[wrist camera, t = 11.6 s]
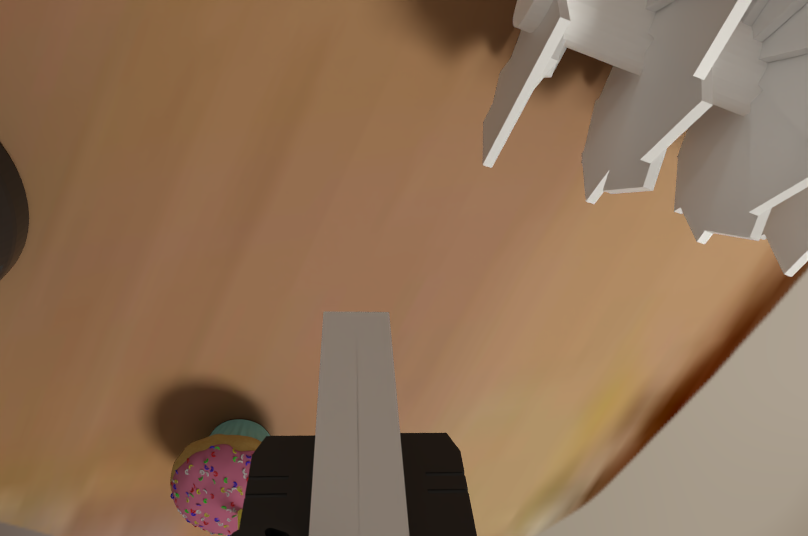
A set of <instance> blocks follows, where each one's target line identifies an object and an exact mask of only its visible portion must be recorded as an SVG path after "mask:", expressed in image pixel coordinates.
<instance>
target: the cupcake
mask: <svg viewBox="0 0 808 536" xmlns="http://www.w3.org/2000/svg"><path fill="white" fill-rule="evenodd" d="M266 436H270V435H269V433H268V432H267V431H266V430H265V429H264V428H263V427H262V426H261V425H259V424H257V423H255V422H252V421H249V420H243V419H235V420H230V421H226V422H224V423H222V424H220V425H219V426H217V427H216V428H215V429H214V430H213V432H212V433H211V434H210V436H209V437H206V438H203V439H200V440H197V441H195V442H192V443H190V444H189V445H188V446H187V447H186V448H185V449H184V451H183V452H182V453H181V454H180V456H179V457H178V458H177V459H176V461H175V462H174V465H173V468H172V473H171V480H170V485H171V491H172V494H171V498H172V499H173V500H174V503H175V505H176V507H177V510H178V511H180V514H182V515H183V518H185V519H186V520H187V522H189V523H192V525H193V526H195V527H197V526H198V527H200V528H201V529H202V530H205V531H209V532H210V534H213V533H216V534H219V535H227V536H230V535H231V534H232V533H233V532H235V531H237V530H239V526H240V520H241V515H242V509H243V503H244V498H245V492H246V486H247V481H248V475H249V469H250V464H251V458H252V454H253V453H254V452H255V450H256V449H257V448H258V446H259V445H260V444H261V442H262V441H263V440H264V438H265V437H266ZM172 496H173V497H172Z"/></svg>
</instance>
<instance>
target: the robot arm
mask: <svg viewBox="0 0 808 536" xmlns="http://www.w3.org/2000/svg"><path fill="white" fill-rule="evenodd" d="M28 226H29V211H28V203H27V198H26V193H25V190H24V187H23V183H22V181H21V178H20V176H19V174H18V172H17V169H16V167H15V165H14V164H13V162H12V160H11V158H10V157H9V155H8V154H7V152H6V151H5V149H4V148H3V147H2V145H1V144H0V280H1V279H2V278H3V277H4V276H5V275H6V274H7V273H8V272H9V271H10V269H11V268H12V267H13V266H14V264H15V263H16V261H17V260H18V258H19V256H20V254H21V253H22V250H23V248H24V245H25V242H26V238H27V233H28ZM230 536H477V534H476V529H475V524H474V518H473V513H472V508H471V503H470V498H469V493H468V488H467V483H466V478H465V476H464V468H463V462H462V457H461V452H460V450H459V449H458V447H457V446H456V445H455V444H454V442H453V441H452V440H451V438H450V437H449V436H448V434H447V433H400V427H399V416H398V405H397V394H396V383H395V372H394V361H393V350H392V339H391V328H390V317H389V312H324V313H323V328H322V344H321V359H320V374H319V389H318V404H317V419H316V434H315V436H266V437H265V438H264V440H263V441H262V442H261V444H260V445H259V446H258V448H257V449H256V450H255V452H254V453H253V454H252V458H251V464H250V469H249V475H248V481H247V486H246V492H245V498H244V503H243V509H242V515H241V520H240V526H239V530H237V531H235V532H233V533H232V534H231V535H230Z"/></svg>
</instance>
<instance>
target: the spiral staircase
mask: <svg viewBox="0 0 808 536" xmlns="http://www.w3.org/2000/svg"><path fill="white" fill-rule="evenodd" d="M513 26H514V27H516V28H518V29H521V32H520V35H519V37H518V40H517V43H516V45H515V48H514V51H513V53H512V56H511V58H510V60H509V61H508V62H507V64H506V65H505V66H504V68H503V69H502V70H501V72H500V75H499V79H498V83H497V87H496V91H495V95H494V100H493V104H492V106H491V108H490V110H489V112H488V114H487V116H486V118H485V120H484V122H483V165H485V166H487V167H490V168H492V166H493V165H494V163H495V161H496V159H497V157H498V155H499V153H500V152H501V150H502V148H503V146H504V144H505V142H506V140H507V139H508V137H509V135H510V133H511V131H512V129H513V127H514V126H515V124H516V122H517V120H518V118H519V116H520V114H521V112H522V111H523V109H524V107H525V105H526V103H527V101H528V99H529V98H530V96H531V94H532V92H533V90H534V89H535V87H536V86H537V85H538V84H539V83H540V82H541V80H542V79H543V78H549V77H552V75H553V72H554V69H556V67H557V65H558V63H559V61H560V60H561V58H562V56H563V54H564V52H565V51H566V49H567V48H570V49H572V50H575V51H577V52H580V53H582V54H585V55H587V56H590V57H593V58H595V59H598V60H600V61H603V62H605V63H608V64H611V65H613V67H612V69H611V72H610V74H609V76H608V79H607V81H606V83H605V86H604V88H603V90H602V93H601V95H600V97H599V98H598V99H597V100H596V101H595V104H594V109H593V113H592V118H591V122H590V126H589V131H588V135H587V140H586V144H585V149H584V151H583V153H582V162H581V163H583V174H584V186H585V197H586V202H589V203H592V204H595V203H596V201H597V200H598V199H599V197H600V196H601V195H602V193H603V192H604V191H605V192H608V193H610V194H616V193H629V192H642V191H653V189H654V186H655V183H656V180H657V177H658V174H659V171H660V168H661V165H662V162H663V159H664V156H665V153H666V150H667V147H668V146H669V145H671V144H672V143H673V142H674V141H675V140H676V139H677V138H678V137H679V136H680V135H681V134H682V133H683V132H684V131H686V130H687V129H688V130H687V132H686V135H685V138H684V140H683V143H682V145H681V148H680V151H679V153H678V156H677V157H678V165H677V179H676V192H675V205H674V212H677V213H680V214H682V213H683V214H684V216H685V218H686V220H687V222H688V224H689V226H690V228H691V230H692V232H693V235H694V237H695V239H696V241H697V242H700V243H703V244H706V242H707V241H708V240H709V238H710V237H711V236H712V234H713V233H715V234H721V235H727V236H732V237H738V238H744V239H750V240H756V241H759V240H760V239H763V240H764V239H767V240H768V242H769V244H770V246H771V248H772V250H773V252H774V255H775V257H776V259H777V261H778V263H779V265H780V267H781V269H782V271H783V273H784V274H785V275H788V276H791V277H792V276H793V275H794V274H795V273H796V272H797V271H798V270H799V269H800V268H801V267H802V266H803V265H804V264H805V263H806V262H807V261H808V0H517V3H516V6H515V11H514V15H513Z"/></svg>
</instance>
